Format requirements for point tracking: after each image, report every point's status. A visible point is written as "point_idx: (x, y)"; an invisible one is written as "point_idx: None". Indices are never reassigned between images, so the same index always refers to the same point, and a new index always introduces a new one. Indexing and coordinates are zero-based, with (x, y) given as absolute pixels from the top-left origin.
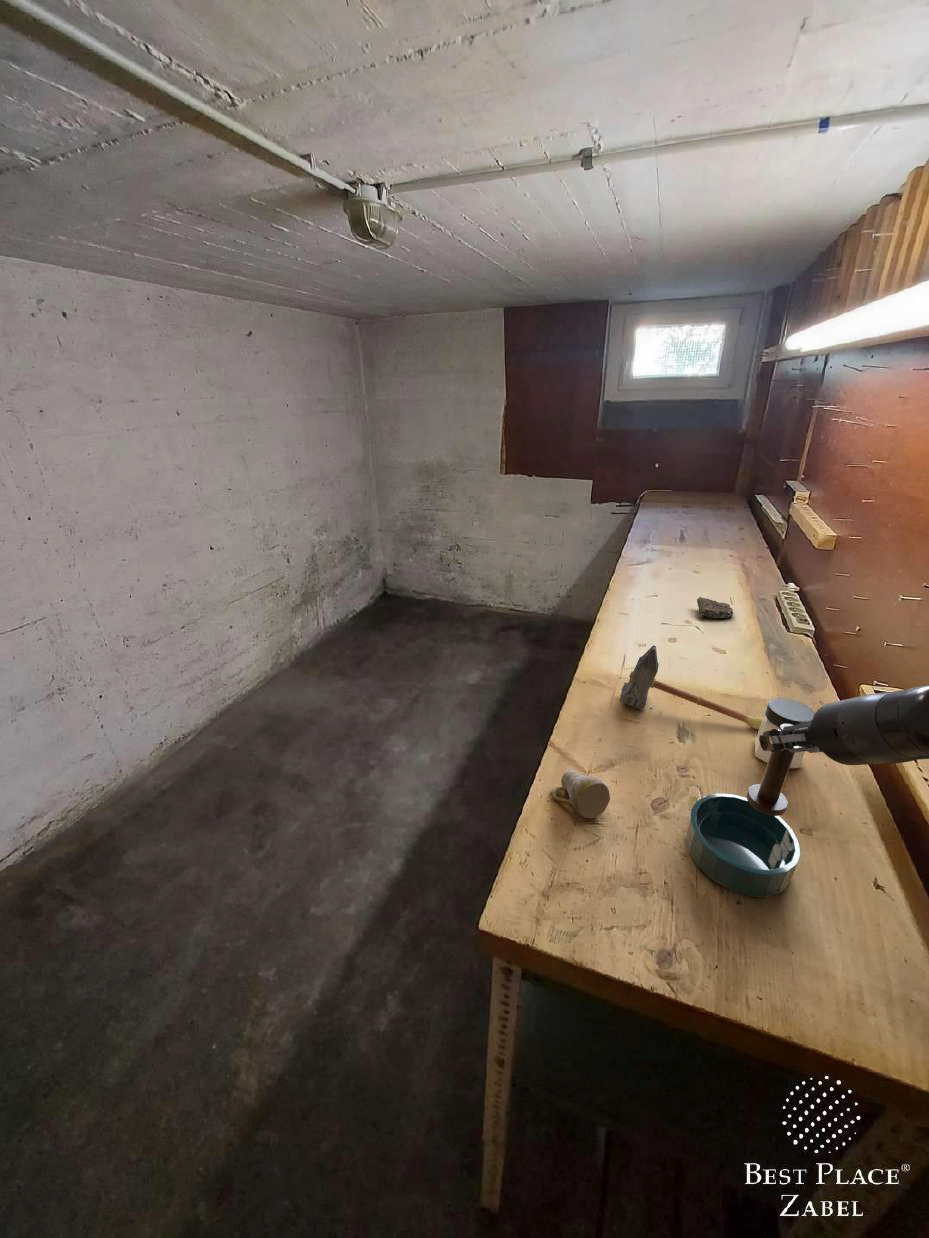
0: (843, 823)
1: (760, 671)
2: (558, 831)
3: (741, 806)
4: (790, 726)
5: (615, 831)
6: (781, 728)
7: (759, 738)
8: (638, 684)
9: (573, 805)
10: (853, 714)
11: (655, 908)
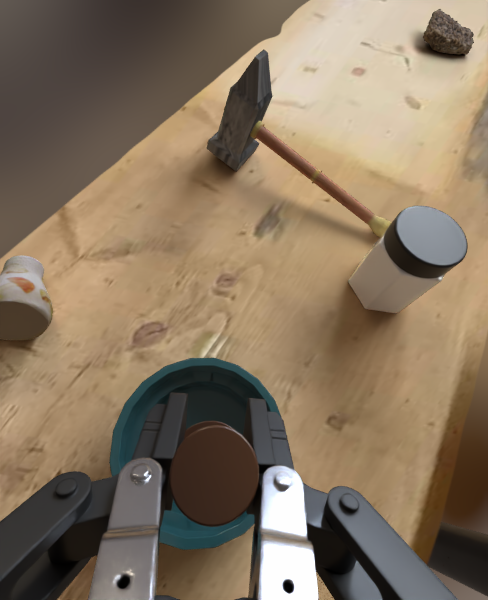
0: (400, 419)
1: (447, 147)
2: None
3: (244, 383)
4: (90, 594)
5: (46, 368)
6: (177, 457)
7: (149, 412)
8: (231, 127)
9: None
10: None
11: None
